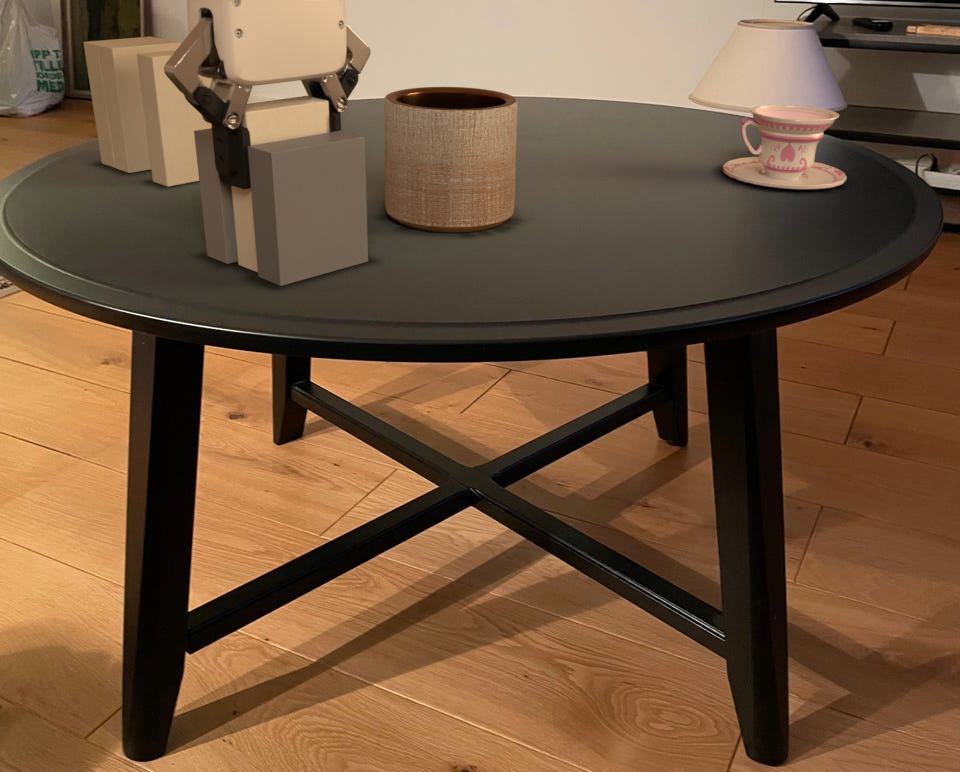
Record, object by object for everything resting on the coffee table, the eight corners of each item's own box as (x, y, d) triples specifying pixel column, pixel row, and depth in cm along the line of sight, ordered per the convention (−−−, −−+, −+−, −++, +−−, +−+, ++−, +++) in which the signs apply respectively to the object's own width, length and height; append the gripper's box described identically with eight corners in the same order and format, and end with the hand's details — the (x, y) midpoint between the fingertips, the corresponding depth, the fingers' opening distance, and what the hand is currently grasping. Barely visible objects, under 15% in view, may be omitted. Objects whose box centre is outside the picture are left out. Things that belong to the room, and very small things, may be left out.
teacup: (827, 164, 107) (839, 103, 104) (861, 194, 97) (875, 126, 94) (712, 160, 107) (720, 99, 104) (733, 190, 97) (743, 122, 94)
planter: (517, 236, 82) (522, 112, 77) (380, 233, 82) (378, 108, 77) (511, 200, 92) (515, 87, 87) (389, 197, 91) (387, 84, 87)
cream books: (167, 187, 92) (151, 57, 87) (101, 163, 99) (82, 41, 94) (232, 174, 97) (221, 50, 92) (165, 153, 104) (151, 36, 98)
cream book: (258, 273, 73) (245, 112, 67) (238, 265, 74) (223, 106, 69) (335, 253, 77) (328, 100, 72) (314, 245, 79) (306, 95, 73)
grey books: (280, 286, 71) (271, 152, 66) (206, 256, 76) (193, 130, 71) (368, 261, 76) (365, 136, 71) (293, 235, 81) (286, 116, 77)
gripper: (332, -110, 72) (342, 149, 81) (104, -116, 61) (144, 186, 69) (406, -107, 67) (408, 167, 76) (174, -113, 56) (207, 209, 65)
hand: (282, 174), depth 73 cm, fingers closed on cream book, 7 cm apart
